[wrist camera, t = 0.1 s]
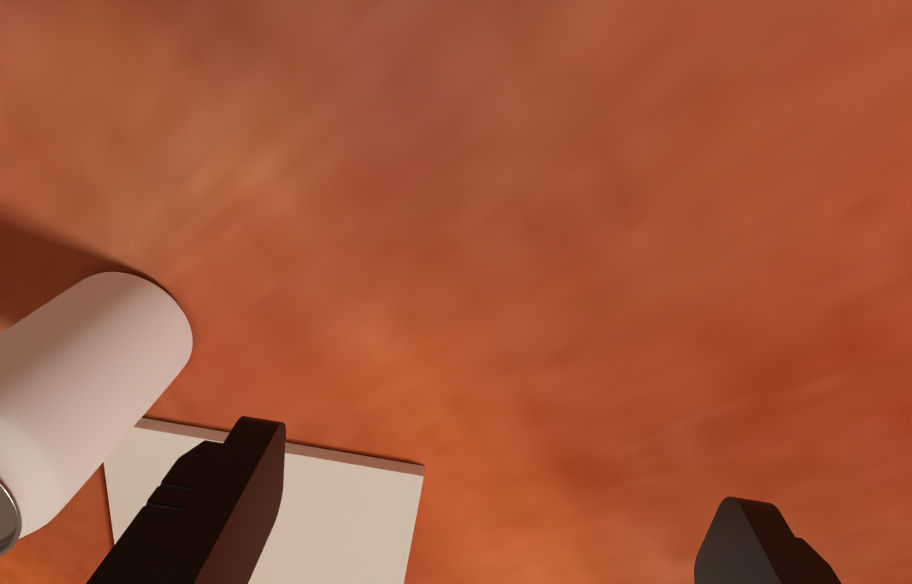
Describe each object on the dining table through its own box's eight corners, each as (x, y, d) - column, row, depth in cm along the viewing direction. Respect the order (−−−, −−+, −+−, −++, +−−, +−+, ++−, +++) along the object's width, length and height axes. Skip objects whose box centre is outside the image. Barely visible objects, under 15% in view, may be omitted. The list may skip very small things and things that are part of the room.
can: (112, 388, 32) (-83, 582, 21) (46, 283, 29) (-214, 444, 19) (218, 364, 31) (69, 557, 20) (159, 254, 28) (-47, 407, 17)
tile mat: (106, 411, 33) (98, 421, 32) (425, 466, 33) (423, 476, 32) (132, 617, 41) (125, 628, 40) (388, 659, 41) (386, 671, 40)
